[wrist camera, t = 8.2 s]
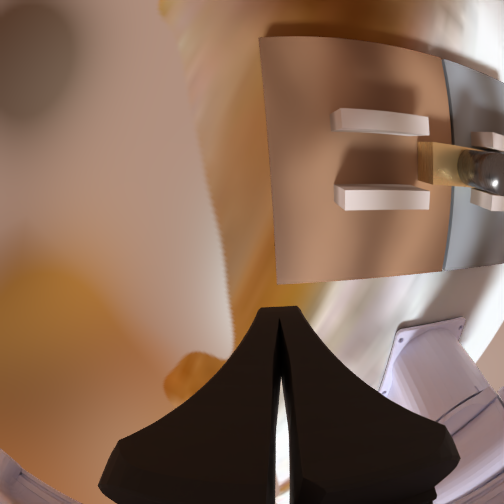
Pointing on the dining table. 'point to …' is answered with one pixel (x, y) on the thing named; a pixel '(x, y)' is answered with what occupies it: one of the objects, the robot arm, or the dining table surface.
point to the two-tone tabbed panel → (375, 160)
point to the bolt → (460, 167)
